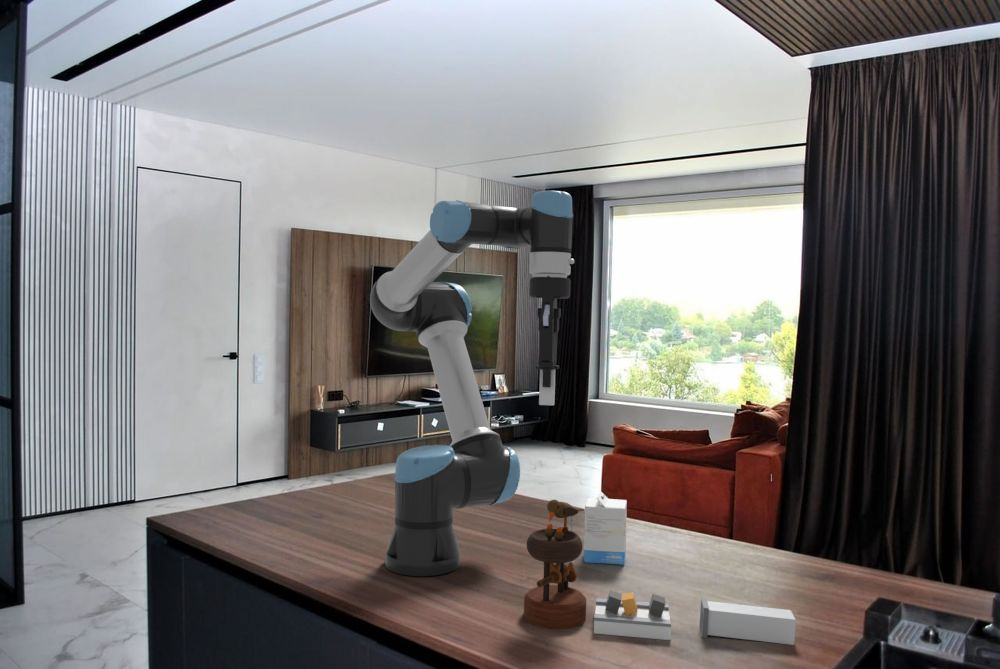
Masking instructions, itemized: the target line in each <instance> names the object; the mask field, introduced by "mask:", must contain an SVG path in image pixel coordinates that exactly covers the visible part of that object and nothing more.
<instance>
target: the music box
mask: <svg viewBox="0 0 1000 669" xmlns="http://www.w3.org/2000/svg"><path fill="white" fill-rule="evenodd" d="M546 505H547V506H546V509H547V510H548V512H549V514H548V515H549V518H548V519H549V522H551V521H552V519H553V518H554V517H556V518H558V519H563V526H559V527H558V528H557V527H556V528H553V524H552V523H550V524H547V525H546V528H543V529H542V528H541V529H537V530H535V531H533V532H531V533H530V534H529V535H528V537H527V540H526V549H527V552H528V554H529V555H530V556H531V557H532V558H533V559H534V560H537V561H538V562H542V563H543V578H542V579H539V580H538V581H536V586H535V587H532V588H531V589H529V590H528V591H527V592H526V593H525V594H524V596H523V617H524V619H525V620H526V621H527V623H530V624H532V625H534V626H537V627H540V628H545V629H553V630H555V629H556V630H559V629H561V630H563V629H572V628H576V627H578V626H581V625H583V624H584V622H585V621H586V619H587V597H586V596H585V595H584V594H583V593H582V592H581V591H580V590H578V589H576V588H573V587H570V586H569V583H574V582H576V581H577V579H578V573H577V571H576V568H575V566H574V563H573V561H575V560H577V559H578V558H579V557H580V556H581V554H582V552H583V548H584V546H583V545H584V544H583V540H582V539H581V537H580V536H579V534H577V533H576V532H574V531H573V521H574V519H573V517H574V516H575V515H577V514H579V512H582V511H583V512H585V508H581V507H577V506H576V507H575V506H573V505H572V504H570V503H568V502H565V501H559V500H557V499H551V500H549V501H548V503H547V504H546ZM569 517H570V518H571V519H570V522H571V528H570V530H569V527H568V525H567V524H568V518H569ZM565 563H568V564H565ZM555 584H556V585H555Z"/></svg>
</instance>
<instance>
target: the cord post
mask: <svg viewBox="0 0 1000 669" xmlns="http://www.w3.org/2000/svg"><path fill="white" fill-rule="evenodd" d="M796 621H797V620H796V617H795V615H794V613H793V612H792V610H790V609H782V608H775V607H765V606H756V605H748V604H747V605H746V604H738V603H730V602H729V603H728V602H718V601H709V600H707V597H705V596H704V597H703V596H700V611H699V630H700V635H701V638H703V639H708V636H714V637H720V638H721V637H723V638H731V639H740V640H749V641H758V642H765V643H774V644H783V645H791V646H794V645H795V638H796V624H797V623H796Z"/></svg>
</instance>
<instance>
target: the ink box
mask: <svg viewBox="0 0 1000 669" xmlns="http://www.w3.org/2000/svg"><path fill="white" fill-rule="evenodd" d="M627 502H628V501H627V499H617V498H616V499H614V498H608V496H606V495H605V494H604V493H603V492H602V491H601V490H600V491H599V492H598V494H597V497H596V498H595V497H588V499H587V501H586V503H585V505H584V534H583V535H584V541H583V542H584V543H583V545H584V546H583V548H584V549H583V561H584V563H588V564H589V563H590V564H591V563H592V564H608V565H609V564H610V565H623V566H624V565H625V563H626V562H625V561H626V556H627V521H628V520H627V519H628V518H627V512H628V510H627V508H628V507H627V504H628V503H627Z"/></svg>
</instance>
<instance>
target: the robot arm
mask: <svg viewBox="0 0 1000 669" xmlns="http://www.w3.org/2000/svg"><path fill="white" fill-rule="evenodd" d="M573 218H574V214H573V198H572V196H571V194H570V193H568V192H566V191H561V190H541V191H536V192H534V193H533V194H532V197H531V203H530V206H526V207H511V206H504V205H502V206H501V205H495V204H494V205H493V204H483V203H476V202H467V201H462V200H456V199H455V200H440V201H439V202H437V203H436V204H435V205H434V206H433V208H432V212H431V214H430V217H429V229H430V230H428V232H427V233H426V234H425V235H424V236H422V238H421V239H420V240H419V242H417V243H416V244H415V246H414V247H413V248H411V250H410V251H409V252H408V253H407V254H406V255H405V256H404V257H403V259H402V260H401V261H400V262H399V263H398V264H397V265H396V266H395V267H394V268H393V270H391V271H387V272H385V273H383V274H382V275H381V276H380V277H379V278H378V279H377V280H376V281H375V283H374V284H373V286H372V288H371V291H370V294H369V304H370V308H371V311H372V314H373V315H374V317H375V318H376V320H377V321H378V322H379V323H380V324H382V325H383V326H385V327H386V328H388V329H390V330H393V331H397V332H415V333H416V336H417V339H418V342H419V344H420V345H422V346H423V347H425V348H427V351H428V354H429V359H430V362H431V366H432V370H433V374H434V377H435V380H436V381H435V382H436V385H437V388H438V393H439V396H440V400H441V404H442V408H443V410H444V415H445V419H446V422H447V426H448V430H449V434H450V437H451V440H452V441H451V443H450V444H449V445H446V444H434V445H431V444H427V445H421V446H416V447H413V448H412V447H411V448H409V449H407V450H404V451H403V452H401V454H399V455H398V456H397V459H396V460H395V461H396V462H395V471H394V476H393V477H394V527H393V531H392V533H391V536H390V539H389V542H388V545H387V548H386V551H385V555H384V558H385V559H384V562H385V563H384V566H385V567H386V569H388V570H389V571H390V572H393V573H395V574H399V575H403V576H411V577H431V576H432V577H433V576H439V575H445V574H448V573H452V572H453V571H455V570H457V569H459V568H460V566H461V562H462V561H461V559H462V558H461V555H462V554H461V550H460V547H459V544H458V540H457V537H456V533H455V530H454V527H453V525H454V524H453V515H454V514H453V511H454V510H457V509H458V510H459V509H466V508H473V507H474V508H475V507H483V506H494V505H495V504H500V503H505V502H508V501H509V500H511V499H512V498H513V496H514V495H515V494H516V492H517V490H518V487H519V483H520V478H521V464H520V460H519V456H518V454H517V453H516V451H515V450H513V448H512V447H510V446H507V445H505V446H504V445H503V443H502V442H503V441H502V439H501V437H500V436H501V435H500V434H499V433H497V432H495V431H493V430H492V429H491V427H490V423H489V420H488V416H487V413H486V410H485V407H484V403H483V400H482V397H481V393H480V390H479V389H480V388H479V386H478V382H477V380H476V379H477V378H476V375H475V372H474V369H473V366H472V362H471V358H470V355H469V352H468V348H467V346H466V342H465V336H466V334H467V333H468V328H469V327H470V325H471V322H472V318H473V314H472V313H471V312H472V310H473V309H472V302H471V299H470V297H469V295H468V292H467V291H466V290H465V289H464V287H462V286H461V285H460V284H457V283H453V282H447V281H437V282H435V280H436V279H437V278H438V277H439V276H440V275H441V274H443V272H444V271H445V270H446V269H447V268H448V267H450V265H451V264H452V263H453V262H454V261H456V259H457V258H458V257H459V256H461V254H463V253H464V252H465V251H466V250H467V249H468V248H469V247H471V245H482V246H484V245H486V246H499V247H501V248H504V249H515V250H518V249H521V248H526V247H527V248H528V247H530V253H529V274H530V275H532V277H530V278H529V287H528V288H529V290H528V291H529V293H528V295H529V298H532V299H541V305H540V306H541V307H537V319H538V334H539V335H538V342H539V344H538V346H539V347H538V348H539V349H538V350H539V351H538V353H539V354H538V355H539V358H538V365H536V366H535V370H539V388H538V389H539V393H538V395H539V398H538V405H539V406H555V400H556V398H555V394H556V392H555V391H556V370H559V369H560V365H557V363H558V361H557V360H558V359H557V351H558V350H557V347H558V332H559V330H560V318H561V308H558V299H563V300H564V299H569V298H570V297H571V282H572V280H571V279H570V278H569V277H568V276H570V275H571V265H573V264H575V259H574V258H571V257H572V246H573V245H572V241H573V240H572V238H573Z"/></svg>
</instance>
